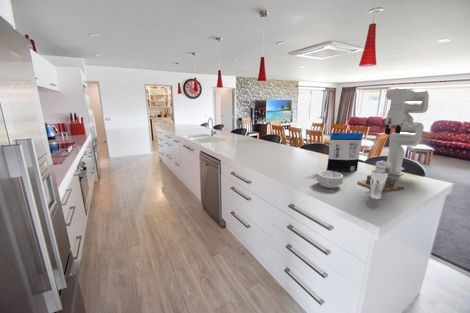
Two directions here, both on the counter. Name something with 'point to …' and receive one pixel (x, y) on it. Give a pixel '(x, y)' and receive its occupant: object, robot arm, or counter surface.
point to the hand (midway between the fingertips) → (392, 133)
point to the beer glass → (377, 184)
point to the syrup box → (383, 167)
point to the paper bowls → (329, 179)
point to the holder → (388, 186)
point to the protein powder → (344, 152)
